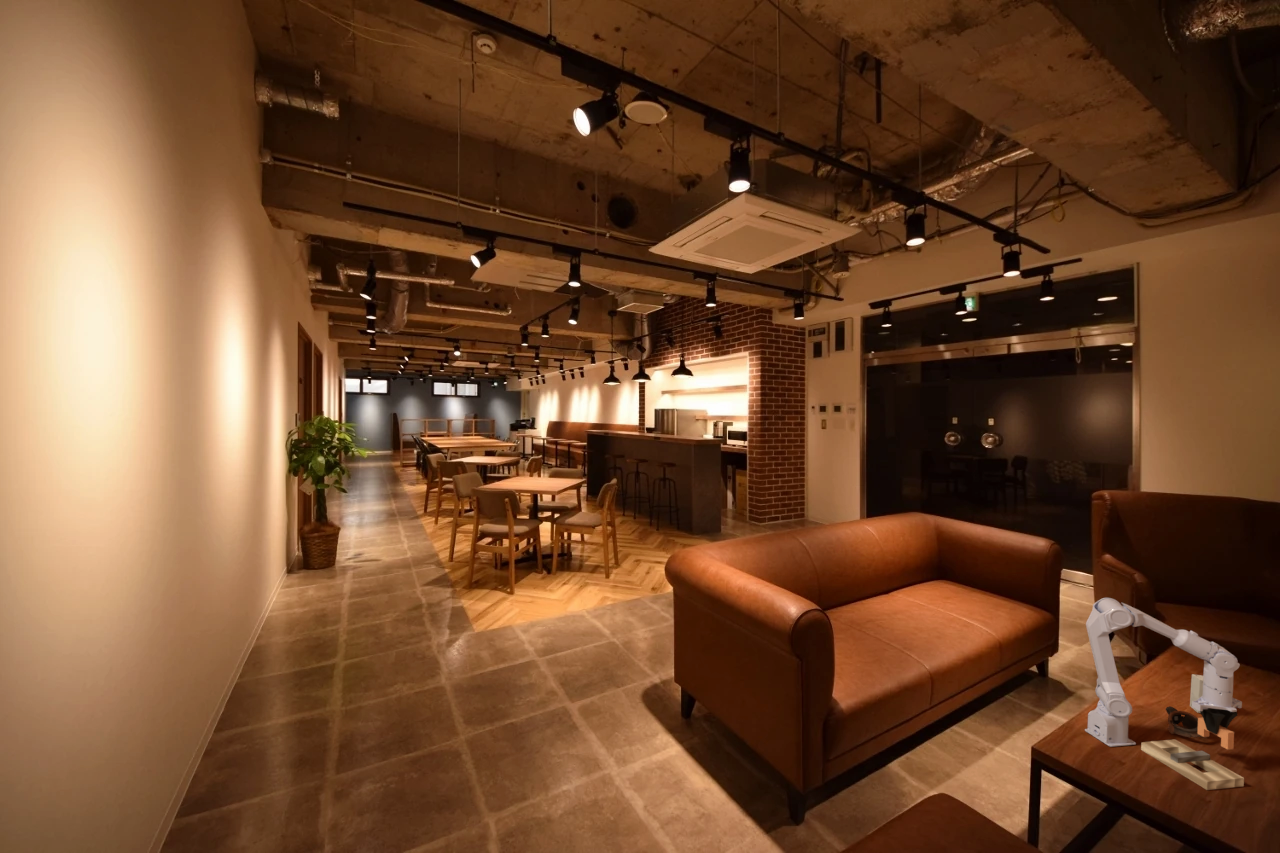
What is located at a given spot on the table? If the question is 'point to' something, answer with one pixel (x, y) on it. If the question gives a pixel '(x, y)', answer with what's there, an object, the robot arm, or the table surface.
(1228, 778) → the light wood flat frame
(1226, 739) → the orange hook block
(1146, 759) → the table surface
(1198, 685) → the skincare box
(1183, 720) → the pottery mug
